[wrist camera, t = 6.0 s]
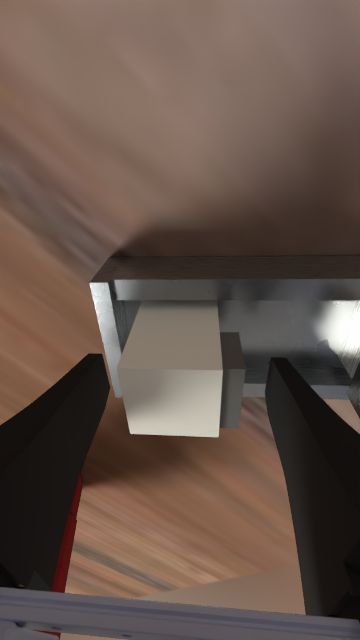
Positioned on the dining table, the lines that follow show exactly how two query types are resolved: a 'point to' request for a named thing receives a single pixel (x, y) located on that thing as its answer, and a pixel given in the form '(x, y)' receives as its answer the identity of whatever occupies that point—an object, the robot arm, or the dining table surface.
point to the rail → (250, 311)
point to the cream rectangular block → (181, 370)
